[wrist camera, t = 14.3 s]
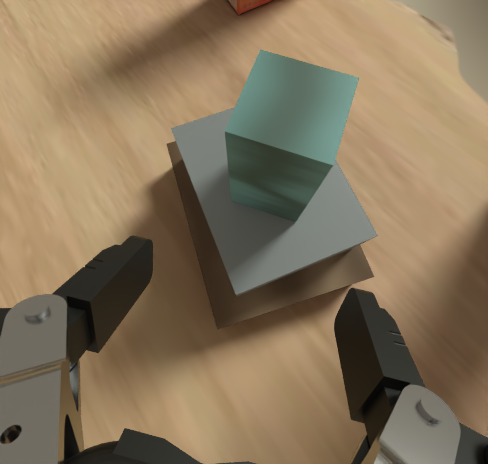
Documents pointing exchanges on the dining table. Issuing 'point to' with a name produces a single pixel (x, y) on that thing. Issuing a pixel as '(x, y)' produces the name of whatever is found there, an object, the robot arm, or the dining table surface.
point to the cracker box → (246, 4)
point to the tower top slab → (266, 214)
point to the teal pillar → (285, 133)
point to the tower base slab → (267, 296)
